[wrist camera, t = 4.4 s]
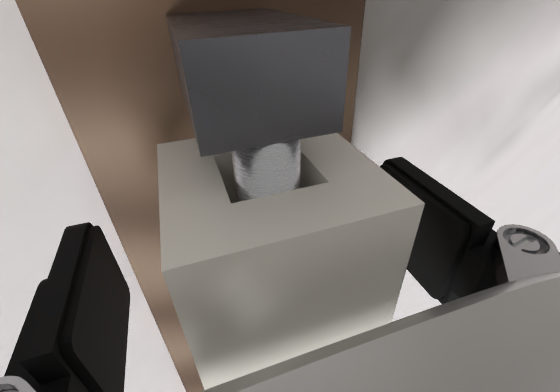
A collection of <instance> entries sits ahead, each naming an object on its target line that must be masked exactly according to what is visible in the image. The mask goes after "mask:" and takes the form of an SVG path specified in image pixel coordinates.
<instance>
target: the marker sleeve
mask: <svg viewBox="0 0 560 392" xmlns="http://www.w3.org/2000/svg"><path fill="white" fill-rule="evenodd" d="M157 159H158V188H159V216H160V245H161V272H162V274H163V277H164V280H165V283H166V285H167V288H168V291H169V294H170V296H171V299H172V302H173V305H174V307H175V310H176V313H177V316H178V318H179V321H180V324H181V327H182V329H183V332H184V335H185V338H186V340H187V343H188V346H189V349H190V351H191V354H192V357H193V360H194V362H195V365H196V368H197V371H198V373H199V376H200V379H201V382H202V384H203V387H204V390H206V389H209V388H211V387H214V386H217V385H220V384H222V383H225V382H228V381H231V380H233V379H236V378H239V377H242V376H244V375H247V374H250V373H253V372H255V371H258V370H261V369H264V368H266V367H269V366H272V365H275V364H277V363H280V362H283V361H285V360H288V359H291V358H294V357H296V356H299V355H302V354H305V353H307V352H310V351H313V350H316V349H319V348H321V347H324V346H327V345H330V344H332V343H335V342H338V341H341V340H344V339H346V338H349V337H352V336H355V335H358V334H360V333H363V332H366V331H369V330H371V329H374V328H377V327H380V326H383V325H385V324H388V323H391V321H392V318H393V314H394V311H395V307H396V304H397V300H398V297H399V293H400V290H401V286H402V283H403V279H404V276H405V272H406V268H407V265H408V261H409V258H410V254H411V251H412V247H413V244H414V240H415V237H416V233H417V230H418V226H419V223H420V219H421V216H422V212H423V209H424V205H425V203H424V202H423V201H422V200H420V199H419V198H418V197H417V196H415V195H414V194H413V193H412V192H410V191H409V190H408V189H407V188H405V187H404V186H403V185H402V184H400V183H399V182H398V181H397V180H395V179H394V178H393V177H392V176H390V175H389V174H388V173H387V172H385V171H384V170H383V169H382V168H380V167H379V166H378V165H377V164H375V163H374V162H373V161H372V160H370V159H369V158H368V157H367V156H366V155H364V154H363V153H362V152H361V151H359V150H358V149H357V148H356V147H354V146H353V145H352V144H351V143H349V142H348V141H347V140H346V139H344V138H343V137H342V136H341V135H339V134H338V133H333V134H327V135H322V136H316V137H310V138H305V139H301V160H300V189H295V190H291V191H286V192H282V193H277V194H273V195H268V196H263V197H259V198H254V199H250V200H245V201H241V202H238V201H237V193H236V186H235V179H234V171H233V164H232V157H231V152H226V153H220V154H215V155H209V156H203V157H201V156H200V153H199V149H198V146H197V142H196V139H195V138H193V139H186V140H180V141H174V142H168V143H162V144H157Z"/></svg>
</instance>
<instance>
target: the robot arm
mask: <svg viewBox="0 0 560 392" xmlns="http://www.w3.org/2000/svg"><path fill="white" fill-rule="evenodd" d="M380 168H382V169H383V170H384V171H385V172H387V173H388V174H389V175H390V176H392V177H393V178H394V179H395V180H397V181H398V182H399V183H400V184H402V185H403V186H404V187H405V188H407V189H408V190H409V191H410V192H412V193H413V194H414V195H415V196H417V197H418V198H419V199H420V200H422V201H423V202H424V203H425V205H424V209H423V212H422V216H421V219H420V223H419V226H418V230H417V233H416V237H415V240H414V244H413V247H412V251H411V254H410V258H409V261H408V265H407V268H406V269H407V270H408V271H409V272H410V273H411V274H412V275H413V277H414V278H415V279H416V280H417V281H418V282H419V283H420V284H421V286H422V287H423V288H424V289H425V290H426V291H427V292H428V293H429V295H430V296H431V297H433V298H434V299H438V300H439V301H440V303H441V304H442V305H439V306H436V307H433V308H431V309H428V310H425V311H422V312H419V313H416V314H414V315H411V316H408V317H405V318H402V319H399V320H397V321H394V322H391V323H388V324H385V325H383V326H380V327H377V328H374V329H371V330H369V331H366V332H363V333H360V334H358V335H355V336H352V337H349V338H346V339H344V340H341V341H338V342H335V343H332V344H330V345H327V346H324V347H321V348H319V349H316V350H313V351H310V352H307V353H305V354H302V355H299V356H296V357H294V358H291V359H288V360H285V361H283V362H280V363H277V364H275V365H272V366H269V367H266V368H264V369H261V370H258V371H255V372H253V373H250V374H247V375H244V376H242V377H239V378H236V379H233V380H231V381H228V382H225V383H222V384H220V385H217V386H214V387H211V388H209V389H206V390H203V391H201V392H560V252H558V250H557V248H556V246H555V244H554V243H553V241H552V240H551V239H549V238H548V237H547V236H546V235H544V234H542V233H541V232H539V231H537V230H534V229H532V228H529V227H526V226H522V225H514V224H511V225H504V226H502V227H500V228H499V229H498V230H497V232H495V231H494V230H492V227H493V225H494V223H495V221H494V220H492V219H491V218H490V217H488V216H487V215H485V214H484V213H482V212H481V211H479V210H478V209H477V208H475V207H474V206H472V205H471V204H469V203H468V202H466V201H465V200H464V199H462V198H461V197H459V196H458V195H456V194H455V193H453V192H452V191H451V190H449V189H448V188H446V187H445V186H443V185H442V184H440V183H439V182H438V181H436V180H435V179H433V178H432V177H430V176H429V175H427V174H426V173H425V172H423V171H422V170H420V169H419V168H417V167H416V166H414V165H413V164H412V163H410V162H409V161H407V160H406V159H404V158H402V157H397V158H393V159H388V160H385V161H384V163H383V165H381V166H380ZM129 306H130V292H129V287H128V285H127V283H126V281H125V279H124V276H123V274H122V272H121V270H120V268H119V266H118V264H117V262H116V259H115V257H114V255H113V253H112V251H111V249H110V247H109V245H108V242H107V240H106V238H105V236H104V234H103V232H102V230H101V228H100V227H99V226H93V225H92V224H91V223H89V222H88V223H83V224H78V225H73V226H69V227H66V229H65V230H64V233H63V236H62V239H61V242H60V245H59V247H58V250H57V253H56V256H55V259H54V262H53V265H52V267H51V270H50V273H49V276H48V279H45V280H43V281H41V282H40V284H39V286H38V287H37V290H36V293H35V295H34V298H33V301H32V303H31V306H30V309H29V311H28V314H27V317H26V319H25V322H24V325H23V327H22V330H21V333H20V335H19V338H18V341H17V343H16V346H15V349H14V351H13V354H12V357H11V359H10V362H9V365H8V367H7V370H6V373H5V375H4V377H1V378H0V392H124V380H125V365H126V350H127V336H128V321H129Z"/></svg>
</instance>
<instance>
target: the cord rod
mask: <svg viewBox="0 0 560 392" xmlns="http://www.w3.org/2000/svg"><path fill="white" fill-rule="evenodd" d="M166 19H167V24H168V29H169V34H170V38H171V43H172V48H173V53H174V57H175V62H176V67H177V72H178V76H179V81H180V86H181V89H182V93H183V96H184V100H185V103H186V107H187V110H188V114H189V117H190V121H191V124H192V128H193V131H194V135H195V139H196V142H197V146H198V149H199V153H200V156H201V157H203V156H209V155H215V154H220V153H226V152H231V157H232V164H233V171H234V179H235V186H236V193H237V201H238V202H241V201H245V200H250V199H254V198H259V197H263V196H268V195H273V194H277V193H282V192H286V191H291V190H295V189H300V160H301V139H305V138H310V137H316V136H322V135H327V134H333V133H339V132H342V130H343V119H344V107H345V95H346V83H347V71H348V60H349V48H350V36H351V26H349V25H344V24H339V23H334V22H330V21H325V20H320V19H316V18H311V17H306V16H302V15H297V14H292V13H287V12H283V11H278V10H273V9H269V8H256V9H241V10H226V11H210V12H195V13H179V14H166Z"/></svg>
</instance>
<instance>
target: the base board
mask: <svg viewBox="0 0 560 392" xmlns="http://www.w3.org/2000/svg"><path fill="white" fill-rule="evenodd" d="M15 1H16V3H17V6H18V8H19V10H20V12H21V15H22V17H23V19H24V22H25V24H26V26H27V28H28V31H29V33H30V35H31V38H32V40H33V42H34V44H35V47H36V49H37V51H38V54H39V56H40V58H41V60H42V63H43V65H44V67H45V70H46V72H47V74H48V76H49V79H50V81H51V83H52V86H53V88H54V90H55V92H56V95H57V97H58V99H59V102H60V104H61V106H62V108H63V111H64V113H65V115H66V118H67V120H68V122H69V124H70V127H71V129H72V131H73V134H74V136H75V138H76V140H77V143H78V145H79V147H80V150H81V152H82V154H83V156H84V159H85V161H86V163H87V166H88V168H89V170H90V173H91V175H92V177H93V179H94V182H95V184H96V186H97V189H98V191H99V193H100V195H101V198H102V200H103V202H104V205H105V207H106V209H107V211H108V214H109V216H110V218H111V221H112V223H113V225H114V227H115V230H116V232H117V234H118V237H119V239H120V241H121V243H122V246H123V248H124V250H125V253H126V255H127V257H128V259H129V262H130V264H131V266H132V269H133V271H134V273H135V275H136V278H137V280H138V282H139V285H140V287H141V289H142V291H143V294H144V296H145V298H146V301H147V303H148V305H149V307H150V310H151V312H152V314H153V317H154V319H155V321H156V323H157V326H158V328H159V330H160V333H161V335H162V337H163V340H164V342H165V344H166V346H167V349H168V351H169V353H170V356H171V358H172V360H173V362H174V365H175V367H176V369H177V372H178V374H179V376H180V378H181V381H182V383H183V385H184V388H185V390H186V392H201V391H203V390H204V387H203V384H202V382H201V379H200V376H199V373H198V371H197V368H196V365H195V362H194V360H193V357H192V354H191V351H190V349H189V346H188V343H187V340H186V338H185V335H184V332H183V329H182V327H181V324H180V321H179V318H178V316H177V313H176V310H175V307H174V305H173V302H172V299H171V296H170V294H169V291H168V288H167V285H166V283H165V280H164V277H163V274H162V272H161V245H160V216H159V188H158V159H157V144H162V143H168V142H174V141H180V140H186V139H193V138H195V135H194V131H193V128H192V124H191V121H190V117H189V114H188V110H187V107H186V103H185V100H184V96H183V93H182V89H181V86H180V81H179V76H178V72H177V67H176V62H175V57H174V53H173V48H172V43H171V38H170V34H169V29H168V24H167V19H166V14H179V13H195V12H210V11H226V10H241V9H256V8H269V9H273V10H278V11H283V12H287V13H292V14H297V15H302V16H306V17H311V18H316V19H320V20H325V21H330V22H334V23H339V24H344V25H349V26H351V36H350V48H349V60H348V71H347V83H346V95H345V107H344V119H343V130H342V132H339V133H338V134H339V135H341V136H342V137H343V138H344V139H346V140H347V141H348V142H349V143H351V135H352V125H353V115H354V106H355V96H356V86H357V76H358V67H359V57H360V47H361V38H362V28H363V18H364V8H365V0H15Z"/></svg>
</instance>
